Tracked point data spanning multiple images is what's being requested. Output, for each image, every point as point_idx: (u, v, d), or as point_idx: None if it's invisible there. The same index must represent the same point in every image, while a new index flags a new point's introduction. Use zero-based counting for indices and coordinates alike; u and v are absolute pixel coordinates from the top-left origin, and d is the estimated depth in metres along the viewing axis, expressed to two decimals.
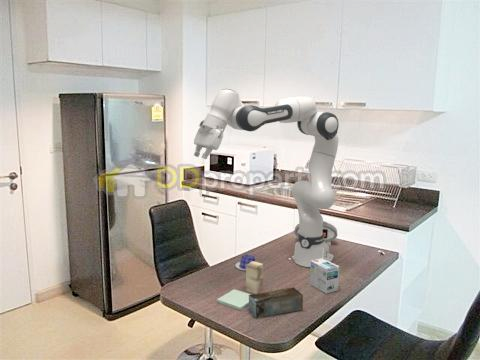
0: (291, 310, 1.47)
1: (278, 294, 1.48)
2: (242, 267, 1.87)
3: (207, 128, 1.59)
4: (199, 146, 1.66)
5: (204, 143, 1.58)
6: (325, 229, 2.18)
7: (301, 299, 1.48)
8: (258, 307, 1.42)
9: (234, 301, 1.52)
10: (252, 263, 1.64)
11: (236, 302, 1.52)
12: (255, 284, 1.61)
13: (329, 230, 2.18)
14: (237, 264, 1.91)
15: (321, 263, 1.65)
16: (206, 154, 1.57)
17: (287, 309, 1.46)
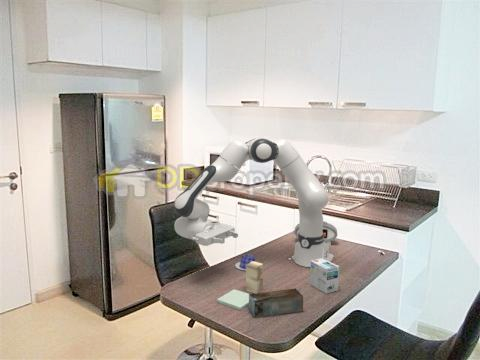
0: (291, 311, 1.46)
1: (278, 294, 1.48)
2: (242, 267, 1.87)
3: None
4: (229, 234, 1.75)
5: None
6: (325, 229, 2.18)
7: (301, 300, 1.47)
8: (256, 307, 1.43)
9: (234, 301, 1.52)
10: (252, 263, 1.64)
11: (236, 302, 1.52)
12: (255, 284, 1.61)
13: (329, 230, 2.18)
14: (237, 264, 1.91)
15: (321, 263, 1.65)
16: (218, 241, 1.65)
17: (286, 310, 1.46)
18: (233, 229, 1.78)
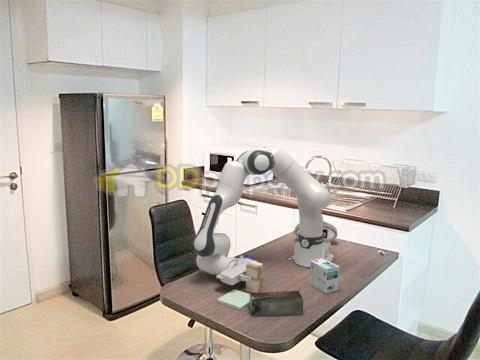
0: (289, 313, 1.45)
1: (278, 295, 1.47)
2: None
3: None
4: None
5: None
6: (325, 229, 2.18)
7: (301, 303, 1.45)
8: (253, 305, 1.43)
9: (234, 301, 1.52)
10: (252, 263, 1.64)
11: (236, 302, 1.52)
12: (255, 284, 1.61)
13: (329, 230, 2.18)
14: None
15: (321, 263, 1.65)
16: (246, 278, 1.61)
17: (285, 312, 1.45)
18: None
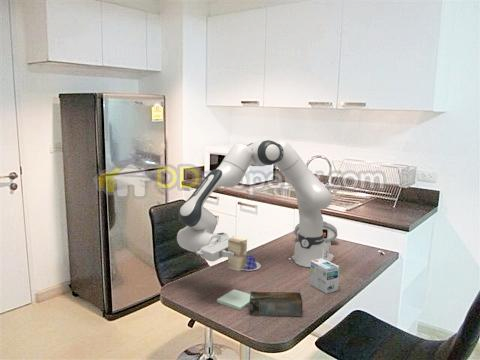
0: (288, 314, 1.44)
1: (278, 296, 1.47)
2: None
3: None
4: None
5: None
6: (325, 229, 2.18)
7: (300, 305, 1.43)
8: (252, 304, 1.44)
9: (234, 301, 1.52)
10: (235, 238, 1.52)
11: (236, 302, 1.52)
12: (238, 260, 1.49)
13: (329, 230, 2.18)
14: None
15: (321, 263, 1.65)
16: (228, 254, 1.49)
17: (283, 313, 1.44)
18: None
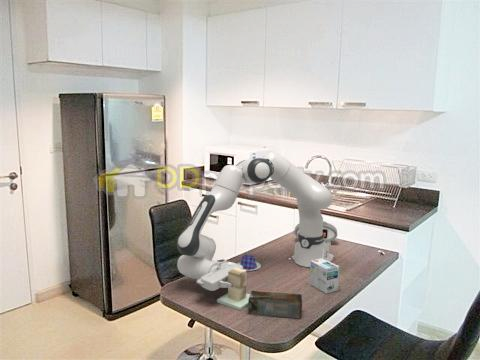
0: (286, 315, 1.43)
1: (277, 296, 1.46)
2: (244, 267, 1.86)
3: None
4: None
5: None
6: (325, 229, 2.18)
7: (298, 307, 1.42)
8: (250, 303, 1.45)
9: (234, 301, 1.52)
10: (235, 269, 1.54)
11: (236, 302, 1.52)
12: (238, 292, 1.51)
13: (329, 230, 2.18)
14: None
15: (321, 263, 1.65)
16: (226, 285, 1.50)
17: (282, 314, 1.43)
18: None
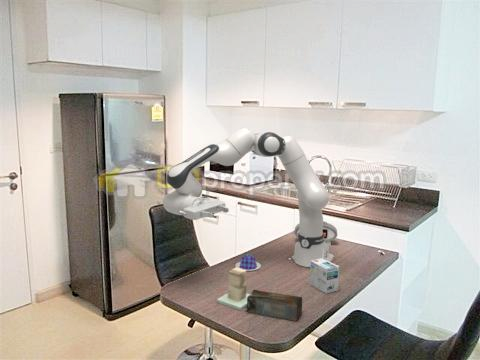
0: (284, 317, 1.42)
1: (277, 297, 1.46)
2: (245, 268, 1.86)
3: None
4: (219, 209, 1.67)
5: None
6: (325, 229, 2.18)
7: (295, 309, 1.40)
8: (249, 302, 1.46)
9: (234, 301, 1.52)
10: (235, 269, 1.54)
11: (236, 302, 1.52)
12: (238, 292, 1.51)
13: (329, 230, 2.18)
14: (237, 266, 1.89)
15: (321, 263, 1.65)
16: (207, 215, 1.57)
17: (279, 315, 1.43)
18: (224, 204, 1.70)
